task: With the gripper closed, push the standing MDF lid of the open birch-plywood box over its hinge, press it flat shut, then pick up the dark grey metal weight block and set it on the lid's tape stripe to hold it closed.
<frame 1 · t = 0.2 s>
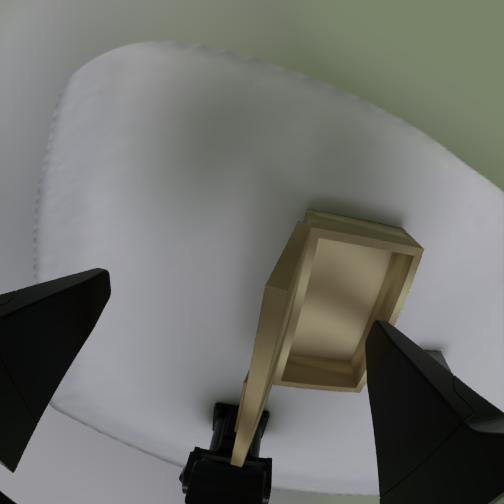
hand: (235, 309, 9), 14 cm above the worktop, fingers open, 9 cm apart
lid: (268, 357, 17), point 8 cm above the worktop, hinge at 100.0°
box: (335, 297, 24), on the worktop
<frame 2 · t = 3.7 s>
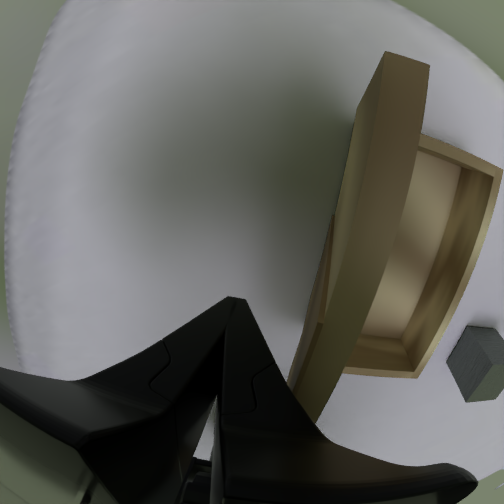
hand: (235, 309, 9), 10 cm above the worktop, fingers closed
lid: (325, 306, 10), point 8 cm above the worktop, hinge at 99.4°, touching gripper
box: (388, 247, 18), on the worktop
block: (471, 346, 20), on the worktop
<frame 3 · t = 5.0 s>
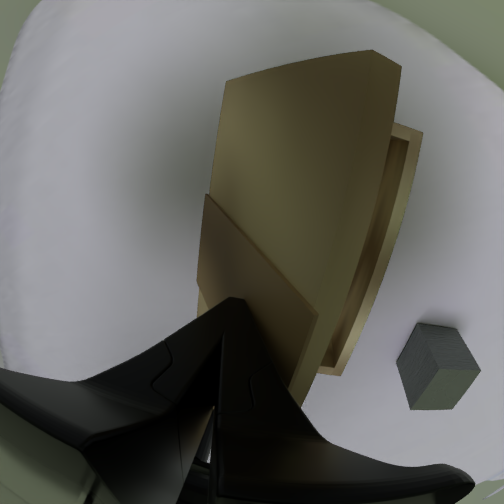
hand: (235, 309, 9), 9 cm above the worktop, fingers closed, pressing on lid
lid: (241, 290, 10), point 8 cm above the worktop, hinge at 59.7°, touching gripper
box: (304, 230, 18), on the worktop
block: (426, 346, 20), on the worktop
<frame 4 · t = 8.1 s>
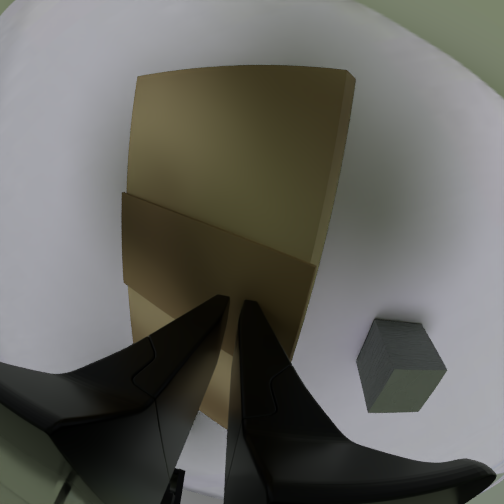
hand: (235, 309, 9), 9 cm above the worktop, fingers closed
lid: (196, 274, 11), point 7 cm above the worktop, hinge at 29.1°, touching gripper
block: (389, 343, 19), on the worktop
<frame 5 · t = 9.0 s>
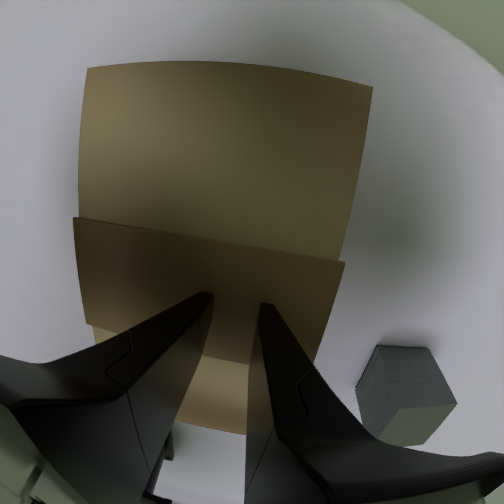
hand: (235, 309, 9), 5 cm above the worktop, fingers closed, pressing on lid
lid: (193, 295, 10), point 5 cm above the worktop, hinge at 1.7°, touching gripper
block: (392, 370, 17), on the worktop
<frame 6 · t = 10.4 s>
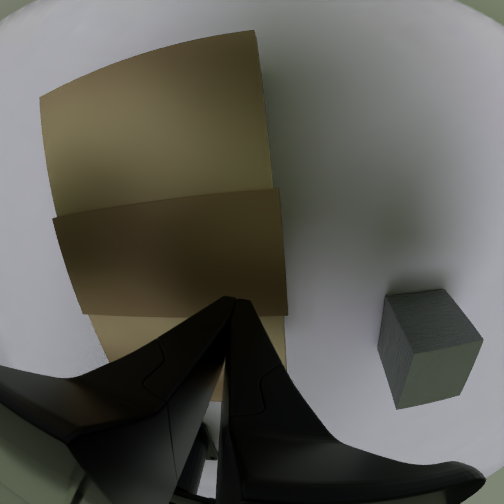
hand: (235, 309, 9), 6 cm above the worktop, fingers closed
lid: (160, 259, 10), point 5 cm above the worktop, hinge at -0.2°
block: (411, 320, 16), on the worktop
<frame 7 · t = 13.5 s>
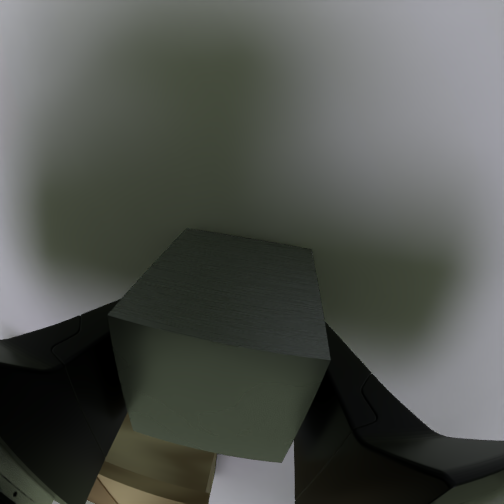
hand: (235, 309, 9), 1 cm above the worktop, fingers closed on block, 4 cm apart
lid: (82, 479, 11), point 5 cm above the worktop, hinge at -0.2°
box: (111, 424, 15), on the worktop
block: (240, 293, 10), on the worktop, touching gripper
when the fingers open (7 cm above the worktop, at t = 16.6 s): block stays where it is, resting on lid.
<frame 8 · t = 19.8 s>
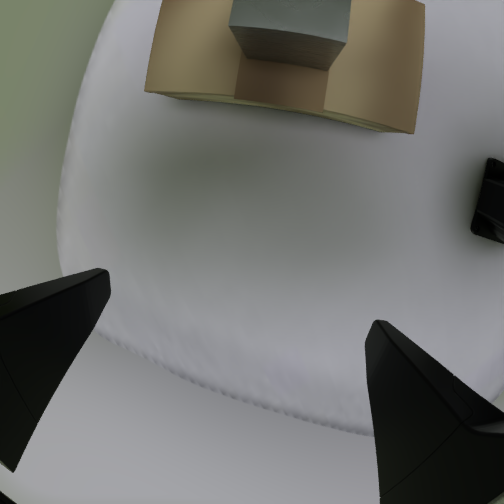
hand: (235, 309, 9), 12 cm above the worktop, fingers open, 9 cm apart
lid: (290, 29, 12), point 5 cm above the worktop, hinge at -0.2°, touching block
box: (289, 55, 16), on the worktop
block: (292, 29, 12), point 5 cm above the worktop, touching lid
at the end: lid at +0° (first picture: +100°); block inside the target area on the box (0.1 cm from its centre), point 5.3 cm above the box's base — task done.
